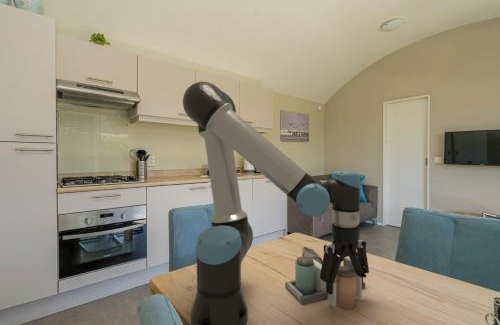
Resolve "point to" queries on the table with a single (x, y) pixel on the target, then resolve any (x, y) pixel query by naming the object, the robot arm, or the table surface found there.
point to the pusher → (318, 277)
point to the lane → (317, 295)
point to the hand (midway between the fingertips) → (344, 300)
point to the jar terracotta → (345, 288)
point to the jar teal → (305, 275)
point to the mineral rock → (311, 254)
